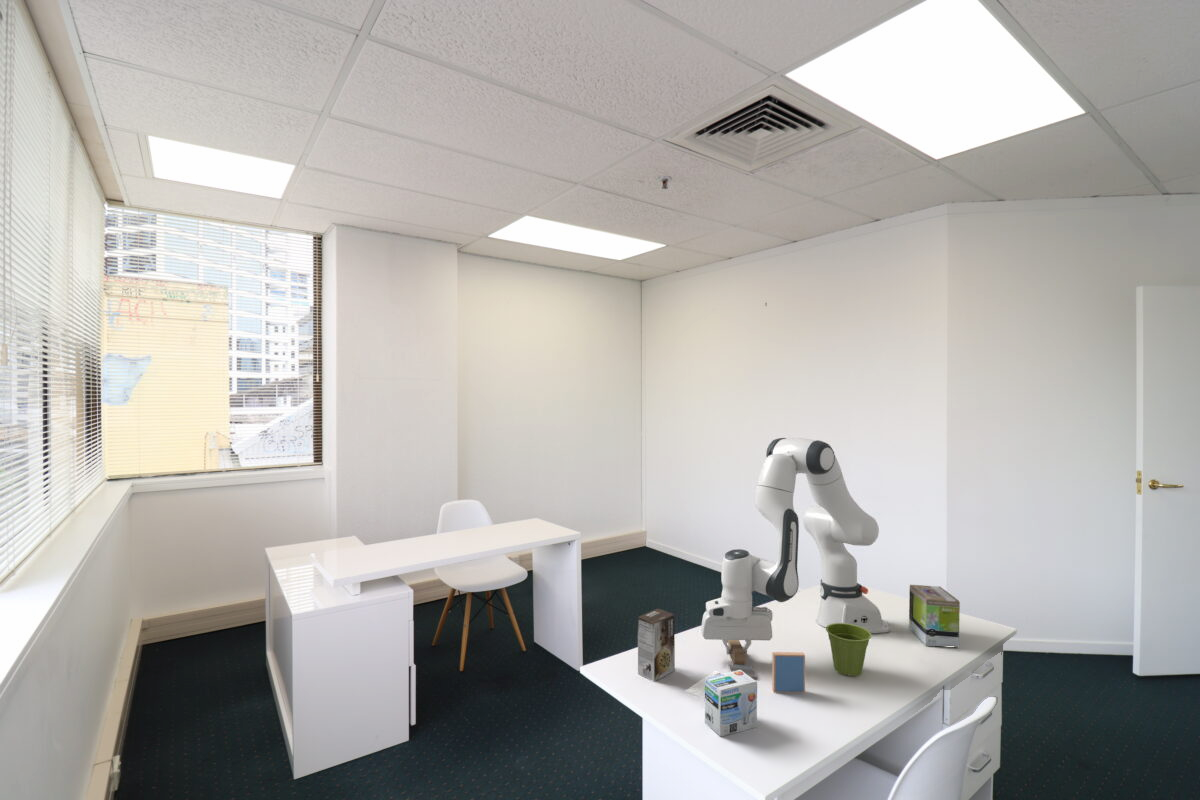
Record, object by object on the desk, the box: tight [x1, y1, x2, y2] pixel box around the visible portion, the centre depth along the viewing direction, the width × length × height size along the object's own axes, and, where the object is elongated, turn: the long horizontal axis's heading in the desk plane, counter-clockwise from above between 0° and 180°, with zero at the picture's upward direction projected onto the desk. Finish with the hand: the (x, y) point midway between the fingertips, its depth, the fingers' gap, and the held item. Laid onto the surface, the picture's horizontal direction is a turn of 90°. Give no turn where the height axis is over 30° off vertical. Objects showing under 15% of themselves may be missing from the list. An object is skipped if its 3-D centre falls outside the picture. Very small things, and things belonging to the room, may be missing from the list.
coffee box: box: [637, 608, 676, 682], centre depth 162 cm, size 9×6×16 cm
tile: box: [771, 651, 806, 694], centre depth 152 cm, size 8×2×10 cm, turn 88°
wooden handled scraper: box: [727, 640, 757, 680], centre depth 167 cm, size 17×6×4 cm, turn 178°
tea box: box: [908, 584, 961, 648], centre depth 186 cm, size 15×10×15 cm
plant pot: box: [825, 623, 873, 677], centre depth 164 cm, size 12×12×11 cm
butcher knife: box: [684, 670, 721, 699], centre depth 156 cm, size 5×15×1 cm, turn 138°
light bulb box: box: [704, 670, 758, 737], centre depth 137 cm, size 11×7×11 cm, turn 114°
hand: (736, 653), depth 171 cm, fingers closed on wooden handled scraper, 3 cm apart
